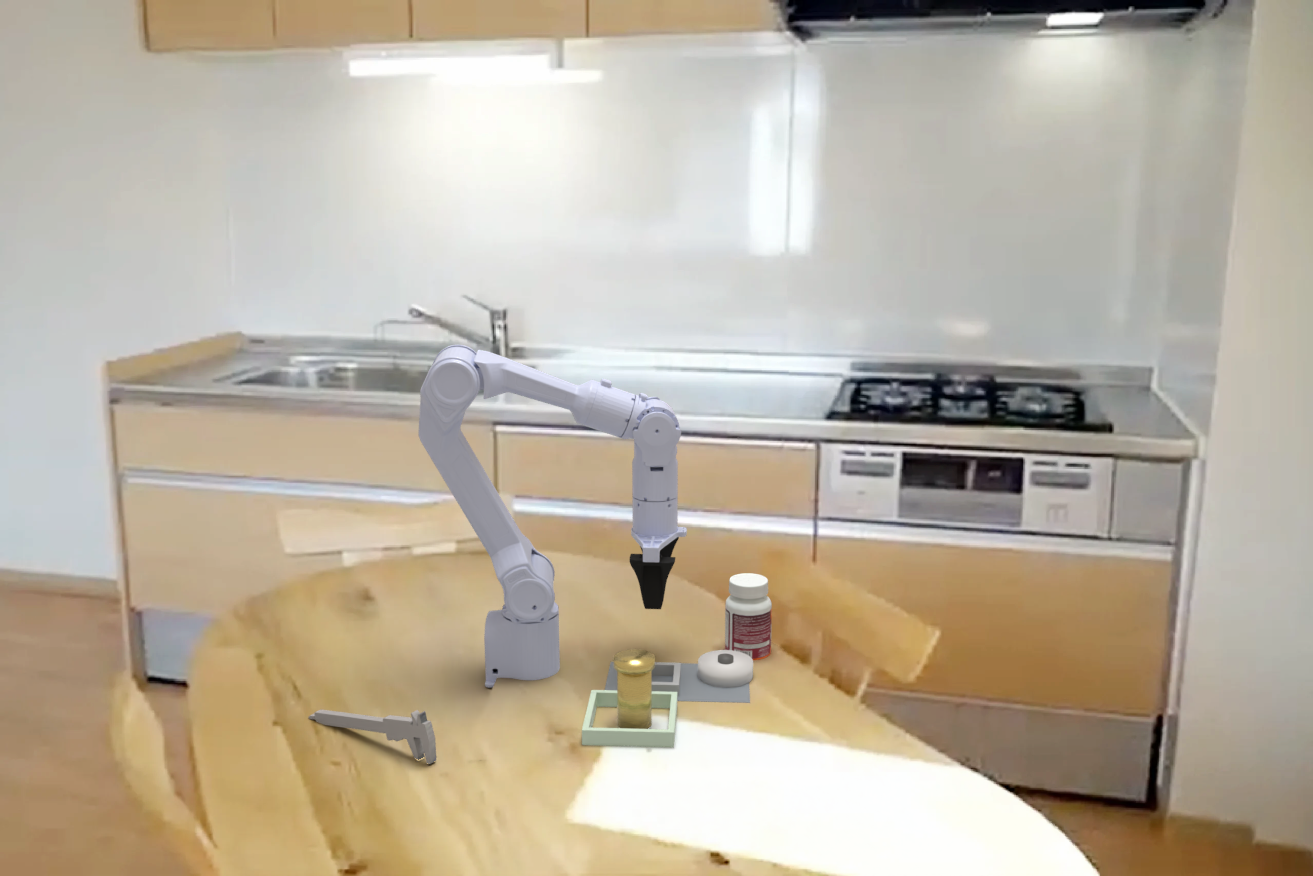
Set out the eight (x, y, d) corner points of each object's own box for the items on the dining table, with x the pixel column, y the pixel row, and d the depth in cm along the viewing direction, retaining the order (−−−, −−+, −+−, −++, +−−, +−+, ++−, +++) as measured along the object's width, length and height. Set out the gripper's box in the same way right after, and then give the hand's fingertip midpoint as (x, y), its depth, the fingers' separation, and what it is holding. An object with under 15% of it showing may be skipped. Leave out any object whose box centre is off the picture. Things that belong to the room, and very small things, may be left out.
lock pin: (612, 738, 142) (612, 666, 140) (615, 719, 147) (615, 649, 145) (654, 739, 142) (654, 666, 140) (655, 719, 146) (655, 649, 144)
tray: (582, 754, 139) (581, 730, 139) (591, 712, 149) (591, 689, 149) (673, 756, 139) (673, 732, 138) (677, 714, 149) (677, 691, 148)
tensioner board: (602, 708, 151) (602, 679, 150) (610, 670, 161) (610, 643, 160) (754, 711, 150) (754, 682, 149) (752, 673, 160) (752, 646, 159)
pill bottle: (780, 661, 164) (782, 581, 161) (743, 672, 161) (744, 591, 158) (751, 646, 169) (753, 568, 166) (715, 656, 166) (716, 577, 163)
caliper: (437, 765, 138) (435, 713, 136) (430, 769, 137) (427, 717, 135) (314, 717, 149) (311, 669, 147) (307, 720, 148) (304, 672, 147)
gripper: (683, 513, 148) (683, 619, 151) (689, 480, 162) (688, 578, 165) (625, 512, 148) (626, 617, 151) (635, 479, 162) (636, 576, 165)
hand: (655, 597), depth 158 cm, fingers open, 7 cm apart
